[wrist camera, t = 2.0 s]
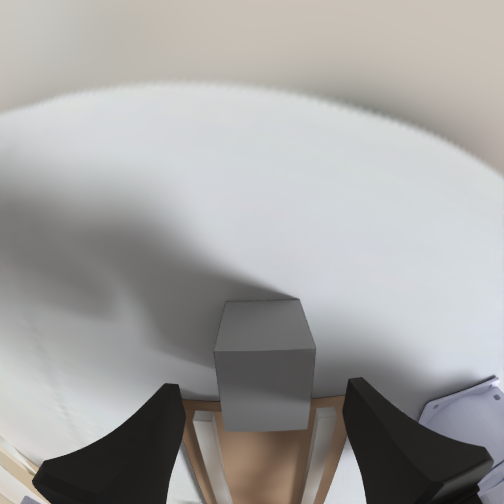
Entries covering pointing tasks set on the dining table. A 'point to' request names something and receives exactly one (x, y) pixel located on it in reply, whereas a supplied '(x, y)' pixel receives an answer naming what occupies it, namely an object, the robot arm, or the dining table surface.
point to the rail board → (265, 456)
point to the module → (264, 366)
